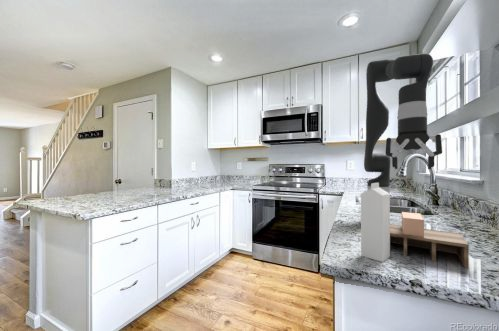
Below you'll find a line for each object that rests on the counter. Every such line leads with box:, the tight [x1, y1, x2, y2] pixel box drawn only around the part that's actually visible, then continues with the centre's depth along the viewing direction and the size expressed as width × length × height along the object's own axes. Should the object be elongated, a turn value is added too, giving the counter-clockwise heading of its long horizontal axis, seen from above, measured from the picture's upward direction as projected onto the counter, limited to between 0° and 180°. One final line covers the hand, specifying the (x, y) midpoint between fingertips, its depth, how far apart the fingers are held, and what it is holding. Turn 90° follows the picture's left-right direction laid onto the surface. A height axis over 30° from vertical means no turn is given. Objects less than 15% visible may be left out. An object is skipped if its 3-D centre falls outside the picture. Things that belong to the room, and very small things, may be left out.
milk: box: [360, 183, 391, 263], centre depth 65 cm, size 6×6×22 cm
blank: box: [401, 211, 425, 237], centre depth 69 cm, size 10×5×5 cm, turn 147°
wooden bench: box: [390, 223, 470, 269], centre depth 68 cm, size 12×21×6 cm, turn 54°
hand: (412, 169), depth 69 cm, fingers open, 8 cm apart
